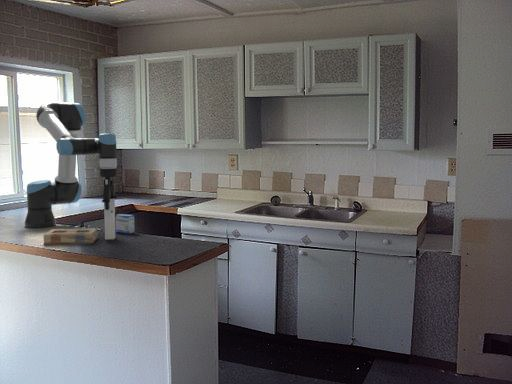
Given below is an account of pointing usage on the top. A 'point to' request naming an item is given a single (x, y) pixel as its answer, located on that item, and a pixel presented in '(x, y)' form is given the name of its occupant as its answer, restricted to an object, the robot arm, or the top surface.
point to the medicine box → (125, 223)
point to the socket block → (70, 236)
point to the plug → (110, 226)
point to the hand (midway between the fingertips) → (109, 214)
